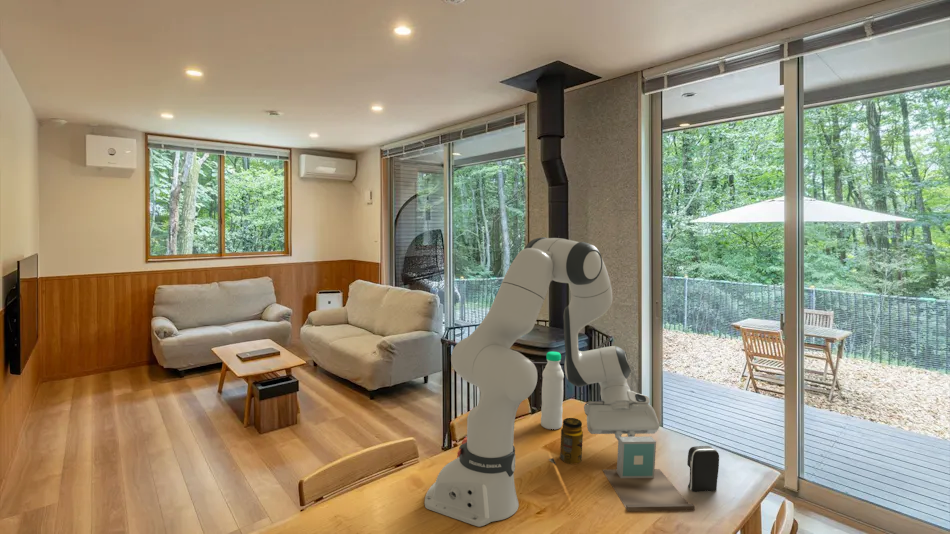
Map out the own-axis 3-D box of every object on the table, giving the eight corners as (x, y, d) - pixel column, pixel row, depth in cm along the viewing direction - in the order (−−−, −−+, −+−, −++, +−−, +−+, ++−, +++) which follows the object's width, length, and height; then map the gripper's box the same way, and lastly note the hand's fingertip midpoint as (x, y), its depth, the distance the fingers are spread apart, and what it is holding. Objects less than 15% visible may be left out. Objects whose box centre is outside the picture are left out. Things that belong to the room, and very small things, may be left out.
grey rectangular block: (620, 478, 127) (622, 441, 126) (616, 472, 130) (618, 436, 129) (654, 478, 127) (656, 441, 126) (649, 472, 130) (651, 436, 130)
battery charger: (708, 485, 126) (711, 443, 125) (717, 493, 122) (720, 450, 121) (683, 486, 125) (686, 444, 124) (691, 495, 121) (694, 451, 120)
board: (601, 472, 131) (602, 466, 131) (659, 471, 132) (659, 465, 132) (627, 514, 112) (627, 507, 112) (694, 513, 113) (694, 506, 113)
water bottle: (550, 419, 166) (552, 348, 164) (566, 426, 161) (569, 353, 158) (536, 425, 162) (538, 352, 159) (552, 432, 156) (554, 356, 154)
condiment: (588, 463, 136) (589, 422, 135) (566, 471, 131) (567, 429, 130) (569, 453, 142) (571, 413, 141) (548, 460, 138) (549, 420, 136)
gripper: (585, 396, 140) (593, 444, 131) (654, 396, 141) (667, 444, 132) (580, 405, 145) (588, 452, 136) (647, 405, 146) (659, 452, 137)
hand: (628, 448), depth 134 cm, fingers closed
